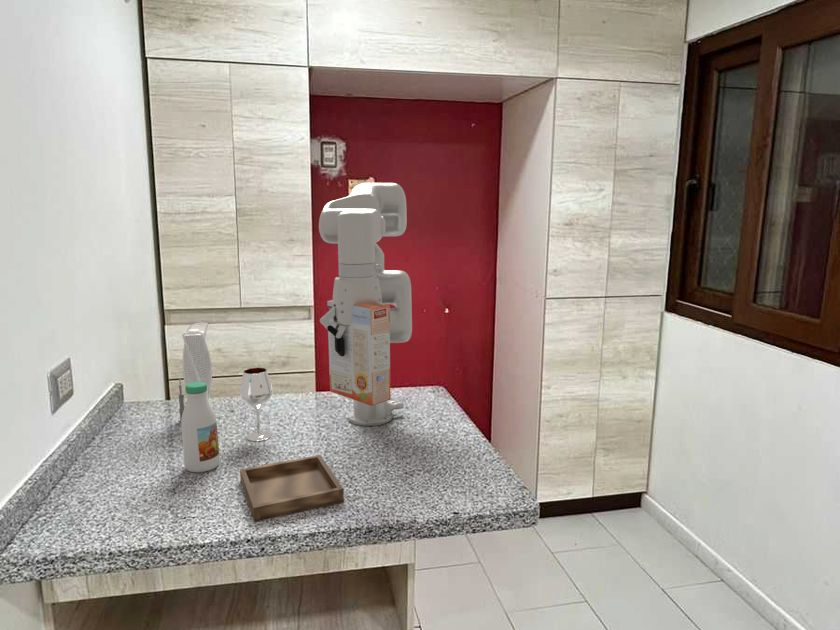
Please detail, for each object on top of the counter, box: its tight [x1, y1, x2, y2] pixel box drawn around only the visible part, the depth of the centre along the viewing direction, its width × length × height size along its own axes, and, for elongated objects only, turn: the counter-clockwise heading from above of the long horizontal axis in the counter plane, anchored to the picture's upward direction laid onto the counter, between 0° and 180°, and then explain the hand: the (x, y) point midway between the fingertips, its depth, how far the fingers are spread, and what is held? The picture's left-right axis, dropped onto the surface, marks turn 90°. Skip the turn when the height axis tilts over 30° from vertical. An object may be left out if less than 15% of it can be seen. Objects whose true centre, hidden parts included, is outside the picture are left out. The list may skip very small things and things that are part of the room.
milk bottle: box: [180, 382, 221, 473], centre depth 136 cm, size 8×8×20 cm
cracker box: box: [326, 299, 391, 406], centre depth 127 cm, size 14×6×21 cm, turn 47°
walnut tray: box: [239, 454, 345, 523], centre depth 126 cm, size 18×18×3 cm
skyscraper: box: [178, 321, 213, 423], centre depth 164 cm, size 8×8×28 cm
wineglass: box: [239, 367, 274, 442], centre depth 153 cm, size 8×8×18 cm
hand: (359, 352), depth 127 cm, fingers closed on cracker box, 7 cm apart
